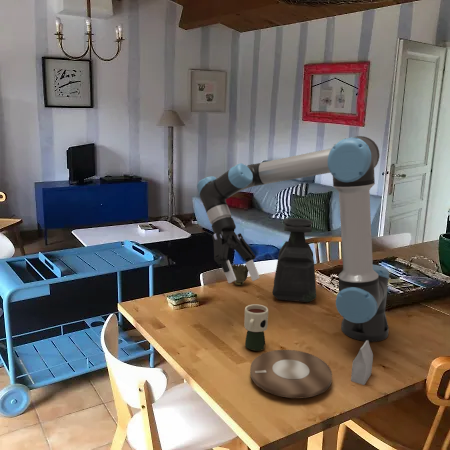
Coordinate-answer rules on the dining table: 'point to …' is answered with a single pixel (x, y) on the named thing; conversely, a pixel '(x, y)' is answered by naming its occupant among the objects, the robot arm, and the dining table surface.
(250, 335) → the character mug
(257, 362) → the turntable
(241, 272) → the cup
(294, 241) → the dark grey tapered pedestal
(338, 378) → the dining table surface
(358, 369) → the grey gabled block
